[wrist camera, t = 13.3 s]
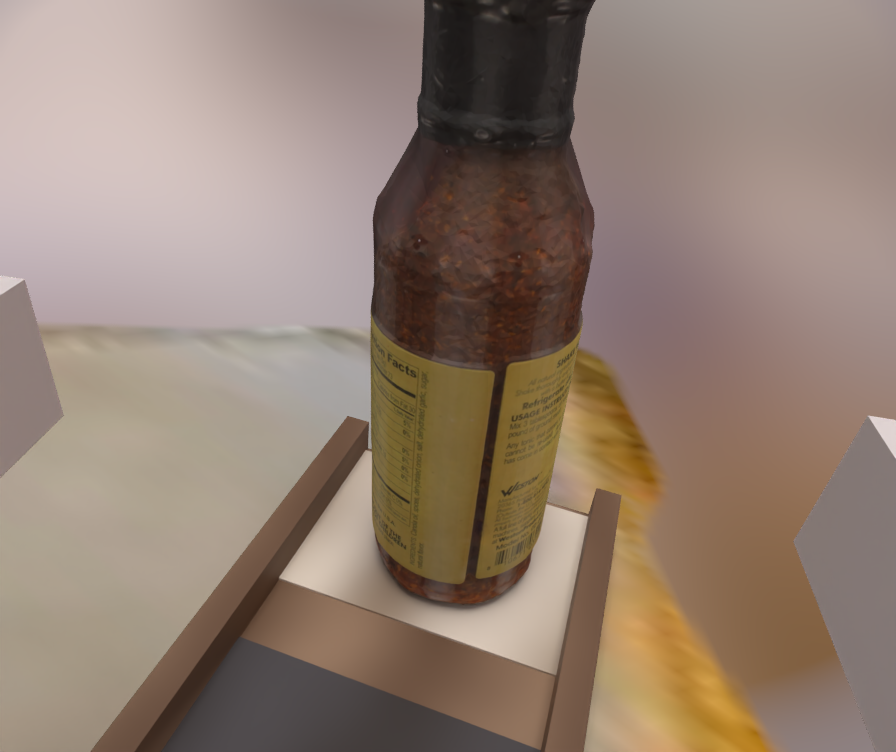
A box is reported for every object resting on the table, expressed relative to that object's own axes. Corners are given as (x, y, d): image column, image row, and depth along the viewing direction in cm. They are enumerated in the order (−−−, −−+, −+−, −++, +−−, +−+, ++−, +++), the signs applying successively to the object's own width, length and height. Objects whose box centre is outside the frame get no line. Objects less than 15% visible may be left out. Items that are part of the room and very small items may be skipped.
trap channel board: (-96, 1087, 14) (-145, 1057, 12) (347, 458, 30) (347, 415, 29) (462, 1423, 11) (482, 1434, 10) (606, 537, 28) (621, 495, 27)
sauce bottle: (515, 487, 28) (635, -70, 17) (549, 614, 23) (751, -62, 12) (360, 488, 27) (380, -101, 16) (361, 620, 22) (389, -107, 11)
